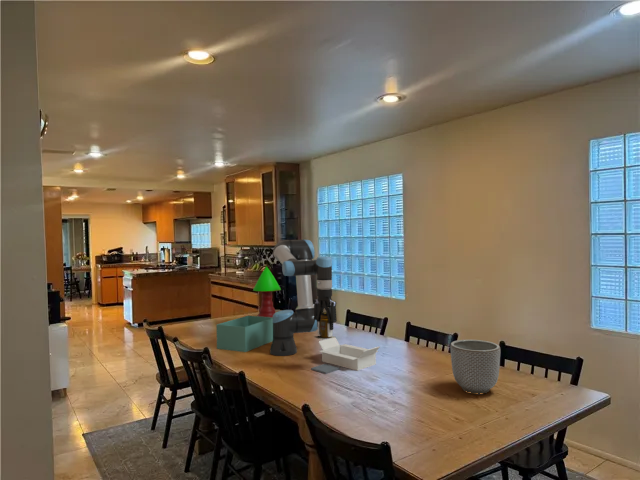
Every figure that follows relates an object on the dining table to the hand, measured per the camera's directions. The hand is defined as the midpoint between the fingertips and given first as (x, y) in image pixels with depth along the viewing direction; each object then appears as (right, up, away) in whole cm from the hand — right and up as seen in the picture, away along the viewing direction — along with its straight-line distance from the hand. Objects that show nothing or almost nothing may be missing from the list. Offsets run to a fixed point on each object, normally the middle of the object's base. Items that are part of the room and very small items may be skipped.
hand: (325, 335), depth 218 cm
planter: (+62, -16, -32) cm, 72 cm away
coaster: (0, -17, 0) cm, 17 cm away
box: (-47, -18, +54) cm, 74 cm away
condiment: (0, -1, 0) cm, 1 cm away
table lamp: (-40, -17, +96) cm, 105 cm away
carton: (+12, -16, +11) cm, 23 cm away
